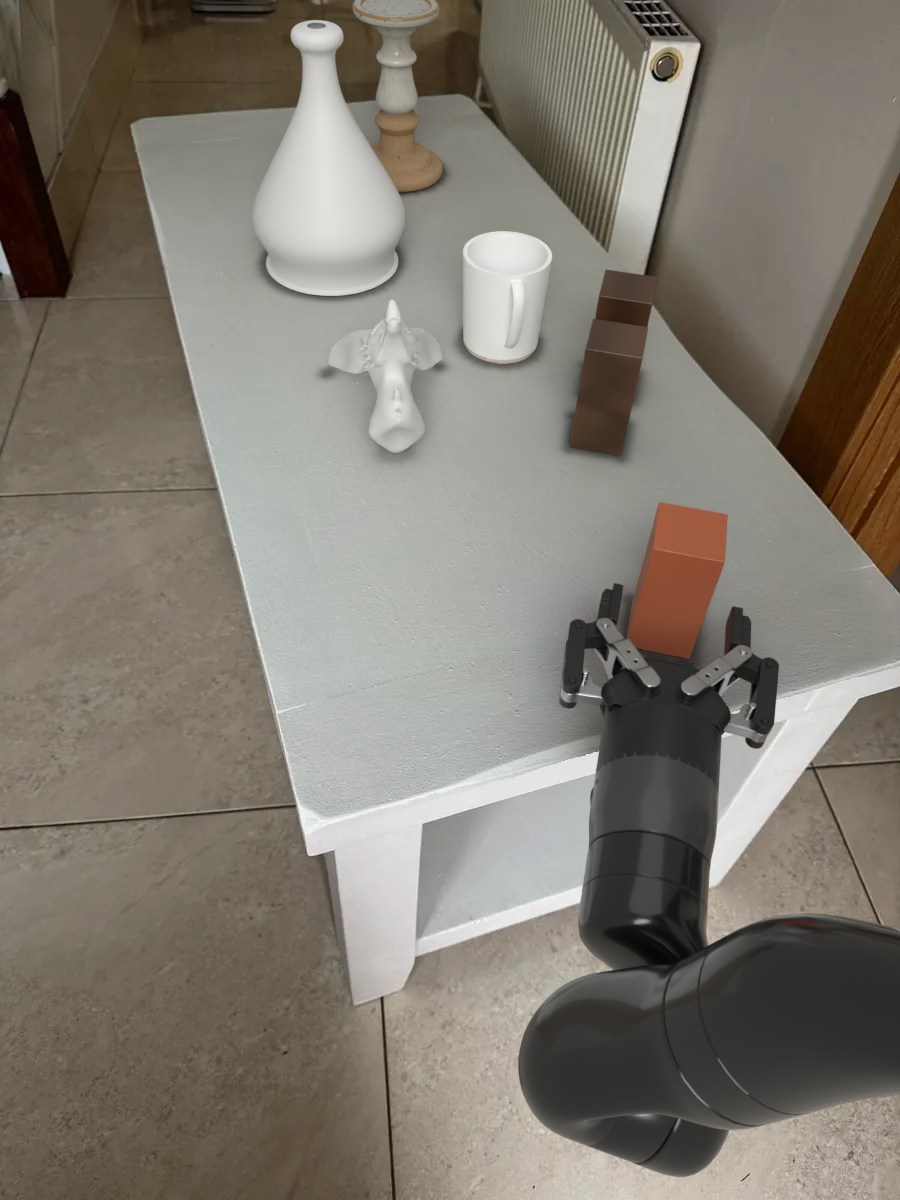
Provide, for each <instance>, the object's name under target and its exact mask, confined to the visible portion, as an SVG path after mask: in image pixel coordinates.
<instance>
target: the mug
mask: <svg viewBox="0 0 900 1200" xmlns="http://www.w3.org/2000/svg"><path fill="white" fill-rule="evenodd" d="M552 263H553V253H552V250H551V249H550V247H549V246H548V245H547V244H546V243H545V242H544V241H542V240H541V239H539V238H537V237H535V236H532V235H529V234H527V233H523V232H516V231H508V230H507V231H506V230H498V231H490V232H489V231H488V232H485V233H481V234H478V235H476V236H474V237H472V238H470V239H469V240H468V241H467V242H466V243H465V244H464V247H463V249H462V334H463V336H462V340H463V341H462V342H463V345H464V347H465V349H466V351H468V353H470V354H471V355H472V356H474V357H475V358H476V359H479V360H481V361H484V362H487V363H491V364H497V365H498V364H500V365H502V364H503V365H504V364H505V365H509V364H515V363H519V362H522V361H525V360H526V359H528V358H529V357H531V356H532V355H533V353H534V352H535V351H536V350H537V347H538V343H539V339H540V338H539V337H540V333H541V326H542V321H543V314H544V309H545V303H546V299H547V297H546V296H547V291H548V287H549V280H550V275H551V274H550V273H551V268H552Z"/></svg>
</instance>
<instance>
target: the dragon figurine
mask: <svg viewBox="0 0 900 1200" xmlns="http://www.w3.org/2000/svg"><path fill="white" fill-rule="evenodd" d="M439 362H441V363H443V362H444V360H443V351H442V348H441V346H440V344H439V342H438V340H437V339H436V338H435V337H434V335H432V333H430V332H428V331H427V330H425V329H424V328H421V327H413V326H410V327H408V326H407V325H406V324H405V322H404V321H403V320H402V315H401V311H400V308H399V306H398V303H397V301H396V300H395V299H390V300H389V301H388V302H387V306H386V310H385V315H384V318H382V319H380V320H379V321H378V322H377V323H376V325H375V326H374V327H372V328H368V329H364V328H363V329H359V330H353V331H351V332H349V333H347V334H345V335H343V336H342V337H340V338H339V339H338V340H337V341H336V342H335V343H334V344H333V345H332V347H331V349H330V351H329V353H328V356H327V359H326V367H328V366H330V367H333V368H337V369H339V370H341V371H342V372H345V373H349V374H355V375H357V374H361V373H364V372H368V374H369V377H370V379H371V382H372V384H373V387H374V389H375V391H376V401H375V404H374V405H375V406H374V408H373V411H372V414H371V416H370V419H369V423H368V435H369V437H370V439H371V440H372V441H374V442H375V443H376V444H378V445H379V446H381V447H382V448H384V449H386V450H387V451H389V452H390V453H392V454H400V453H402V452H404V451H406V450H407V449H408V448H410V447H411V446H412V445H414V444H415V443H417V442H418V441H419V440H420V439H422V437H423V436H424V434H425V433H426V424H425V419H424V418H423V415H422V412H421V410H420V409H419V408H418V405H417V404H416V400H415V398H414V396H413V392H412V390H411V386H412V383H413V382H412V381H413V377H414V373H415V370H416V369H417V370H421V371H426V370H429V369H431V368H433V367H434V366H435V365H436V364H437V363H439Z"/></svg>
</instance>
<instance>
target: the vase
mask: <svg viewBox="0 0 900 1200" xmlns="http://www.w3.org/2000/svg"><path fill="white" fill-rule="evenodd" d="M290 41H291V43H292V44H293V46H294V47H295V48H296V49H298V50H299V52H300V55H301V62H302V64H301V65H302V66H301V67H302V68H301V69H302V75H301V88H300V93H299V98H298V101H297V103H296V107H295V110H294V112H293V115H292V117H291V120H290V122H289V124H288V126H287V129H286V131H285V133H284V135H283V138H282V140H281V142H280V144H279V146H278V148H277V150H276V152H275V154H274V156H273V158H272V161H271V163H270V164H269V166H268V169H267V171H266V173H265V175H264V177H263V179H262V182H261V184H260V186H259V188H258V191H257V193H256V195H255V198H254V202H253V206H252V212H251V213H252V214H251V215H252V217H251V219H252V220H251V221H252V226H253V229H254V232H255V235H256V236H257V239H258V240H259V242H260V244H261V245H262V247H263V248H264V249H265V251H266V252H267V256H266V259H265V268H266V270H267V273H268V274H269V276H271V277H272V279H273V280H274V281H276V282H277V284H280V285H282V286H283V287H285V288H287V289H289V290H292V291H295V292H298V293H302V294H307V295H313V296H322V297H323V296H324V297H333V296H334V297H341V296H348V295H354V294H359V293H363V292H367V291H369V290H372V289H375V288H377V287H379V286H381V285H383V284H384V283H385V282H387V281H388V280H390V278H391V277H393V275H394V274H395V273H396V271H397V270H398V267H399V255H398V253H397V252H396V248H397V246H398V244H399V242H400V240H401V238H402V236H403V234H404V230H405V227H406V217H407V215H406V209H405V205H404V202H403V199H402V197H401V195H400V192H398V191H397V189H396V187H395V185H394V183H393V182H392V180H391V178H390V177H389V175H388V173H387V172H386V170H385V168H384V167H383V165H382V164H381V162H380V160H379V159H378V157H377V156H376V154H375V152H374V151H373V149H372V148H371V144H370V142H369V141H368V139H367V138H366V136H365V134H364V132H362V129H361V128H360V126H359V124H358V123H357V121H356V120H355V118H354V116H353V114H352V112H351V110H350V108H349V106H348V104H347V102H346V100H345V97H344V95H343V93H342V88H341V86H340V82H339V76H338V71H337V64H336V62H337V61H336V54H337V50H338V49H339V48H340V47H341V46H342V44H343V43H344V32H343V29H342V28H341V27H340V26H339V25H338V24H336V23H334V22H331V21H327V20H324V19H323V20H321V19H312V20H311V19H310V20H305V21H302V22H299V23H297V24H295V25H294V26H293V27H292V28H291V31H290Z"/></svg>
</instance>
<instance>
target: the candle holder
mask: <svg viewBox="0 0 900 1200" xmlns="http://www.w3.org/2000/svg"><path fill="white" fill-rule="evenodd" d="M352 12H353V15H354V16H355V18H357V19H358V20H360V21H362V22H363V23H365V24H369V25H372V26H374V28H375V29H376V30H377V32H378V33H379V34H380V37H381V39H382V41H381V42H382V43H381V44H382V45H381V48H380V49H379V50H378V51H377V52H376V54H375V58H376V60H377V62H378V63H379V64H380V66H381V67H380V76H379V81H378V85H377V88H376V92H375V103H376V105H377V107H378V108H379V109H380V110H379V111H378V112H377V114H376V115H375V117H374V124H375V125H376V127H377V129H378V130H379V131H380V132H379V141H377V142H375V143H372V144H370V146H371V148H372V149H373V151H374V152H375V154H376V156H377V157H378V159H379V160H380V162H381V164H382V165H383V167H384V168H385V170H386V172H387V173H388V175H389V177H390V178H391V180H392V182H393V183H394V185H395V187H396V189H397V191H398V193H409V192H416V191H421V190H424V189H427V188H429V187H431V186H433V185H435V184H437V182H439V181H440V179H441V178H442V175H443V171H444V170H443V169H444V165H443V161H442V159H441V158H440V157H439V155H438V154H436V153H435V152H434V151H432V150H430V149H428V148H427V147H426V146H424V145H423V144H422V143H421V144H420V143H419V142H416V139H415V138H416V137H415V130H416V129H417V127H419V125H420V117H419V115H418V114H417V113H416V112H415V111H414V110H415V109H416V107H417V105H418V103H419V94H418V90H417V87H416V83H415V80H414V74H413V65H414V64H415V63H416V61H417V58H418V57H417V54H416V53H415V51H414V50H413V49H412V46H411V38H412V35H413V34H414V33H415V32H416V31H417V30H418V29H417V28H418V27H421V26H425V25H427V24H429V23H432V22H433V21H435V20H436V19H437V18H438V16H439V15H440V6H439V3H438V2H437V0H353V2H352Z"/></svg>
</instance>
